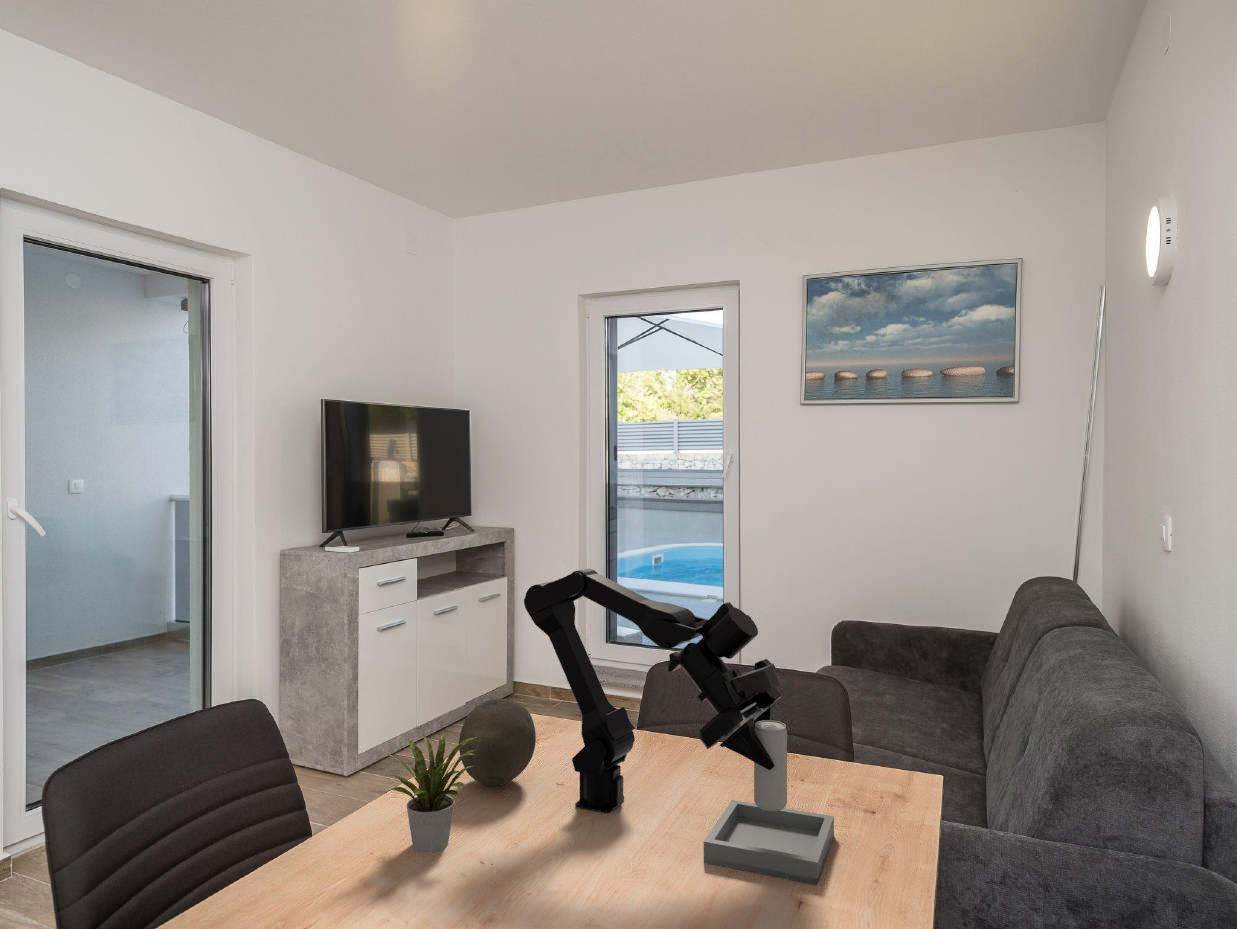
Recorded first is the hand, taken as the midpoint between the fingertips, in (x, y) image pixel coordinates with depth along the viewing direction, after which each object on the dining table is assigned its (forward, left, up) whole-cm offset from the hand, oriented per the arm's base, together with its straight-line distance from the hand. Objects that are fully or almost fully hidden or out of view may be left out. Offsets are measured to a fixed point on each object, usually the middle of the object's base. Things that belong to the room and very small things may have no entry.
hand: (778, 762), depth 118 cm
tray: (-1, 0, -13) cm, 13 cm away
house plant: (-47, -18, -13) cm, 52 cm away
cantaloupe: (-51, +5, -13) cm, 53 cm away
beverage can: (-1, 0, -7) cm, 7 cm away
